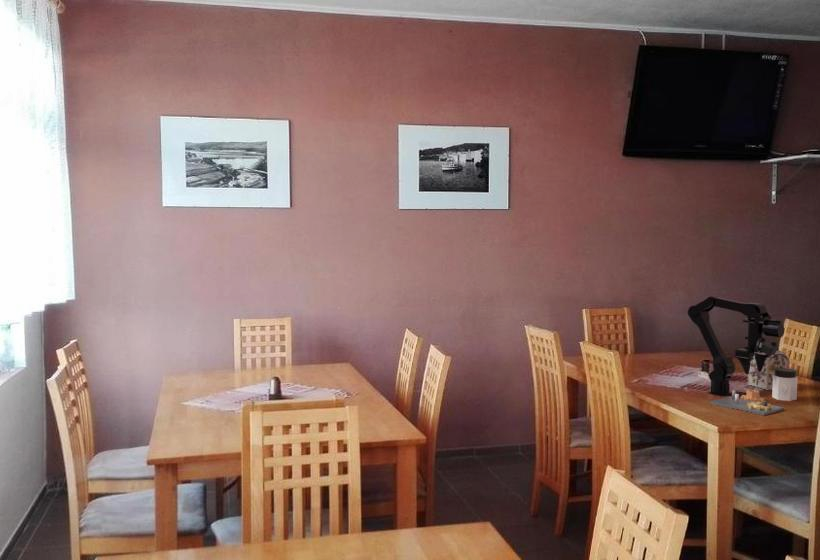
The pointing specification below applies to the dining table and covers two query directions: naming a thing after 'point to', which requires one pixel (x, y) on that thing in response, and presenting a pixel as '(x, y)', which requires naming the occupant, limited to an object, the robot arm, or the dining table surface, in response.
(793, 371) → the jar
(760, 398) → the loose gear
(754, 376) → the decorative jar
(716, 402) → the gear board
